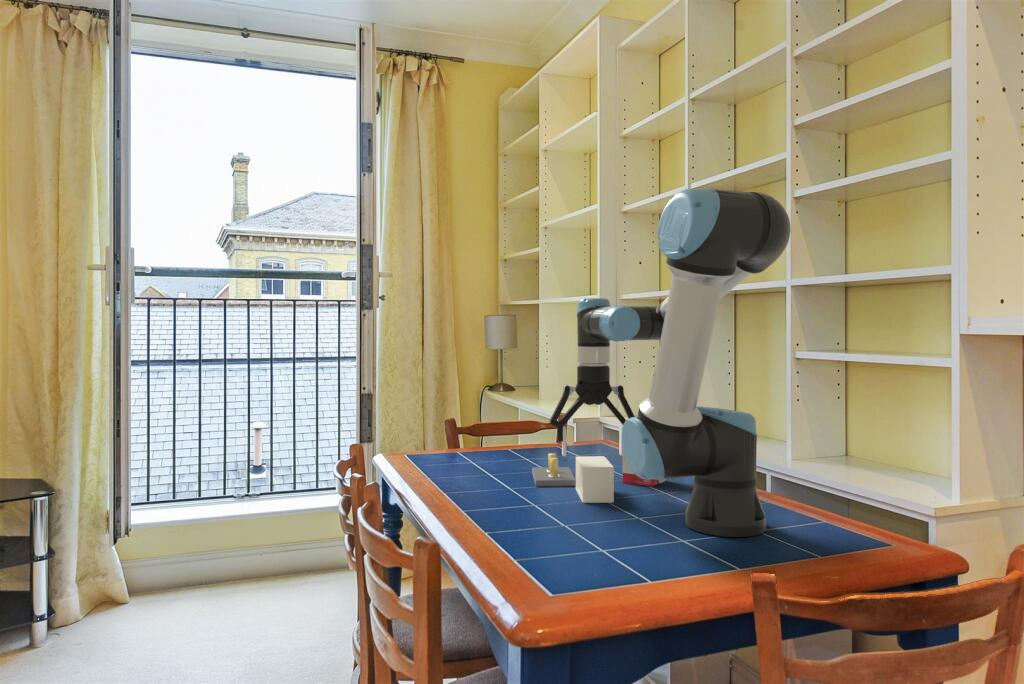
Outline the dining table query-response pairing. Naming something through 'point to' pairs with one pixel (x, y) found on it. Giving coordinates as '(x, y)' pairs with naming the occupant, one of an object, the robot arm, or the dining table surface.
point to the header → (553, 474)
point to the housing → (594, 479)
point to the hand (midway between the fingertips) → (593, 455)
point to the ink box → (636, 477)
